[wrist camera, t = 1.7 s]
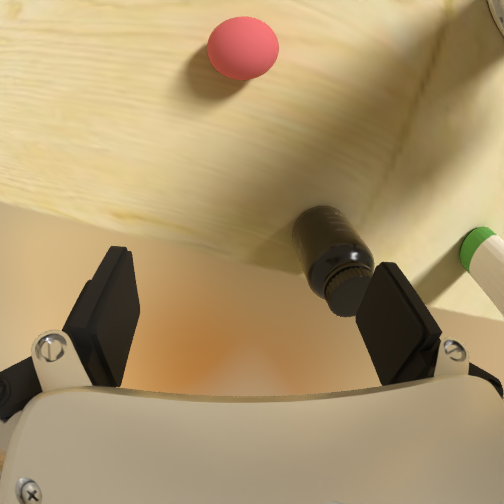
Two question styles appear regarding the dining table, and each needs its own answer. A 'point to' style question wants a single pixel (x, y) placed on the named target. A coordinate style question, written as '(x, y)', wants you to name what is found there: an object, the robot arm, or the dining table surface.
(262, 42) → the ball
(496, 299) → the wine bottle
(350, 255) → the supplement bottle
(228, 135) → the dining table surface
